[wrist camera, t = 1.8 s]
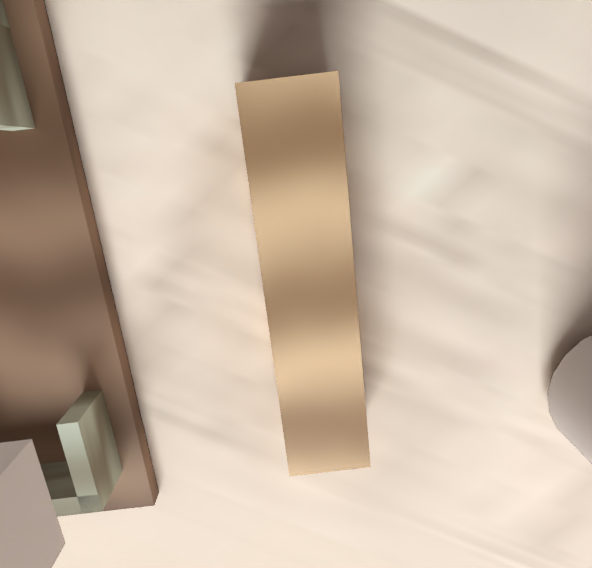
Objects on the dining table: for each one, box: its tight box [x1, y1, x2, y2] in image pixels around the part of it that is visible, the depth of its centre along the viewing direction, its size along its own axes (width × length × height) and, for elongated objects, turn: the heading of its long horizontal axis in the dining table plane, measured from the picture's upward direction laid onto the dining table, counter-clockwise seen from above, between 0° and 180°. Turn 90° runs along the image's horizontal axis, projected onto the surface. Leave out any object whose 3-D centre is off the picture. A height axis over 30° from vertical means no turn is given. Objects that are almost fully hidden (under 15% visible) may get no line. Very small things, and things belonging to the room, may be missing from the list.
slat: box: [235, 71, 370, 476], centre depth 22 cm, size 18×4×4 cm, turn 6°
